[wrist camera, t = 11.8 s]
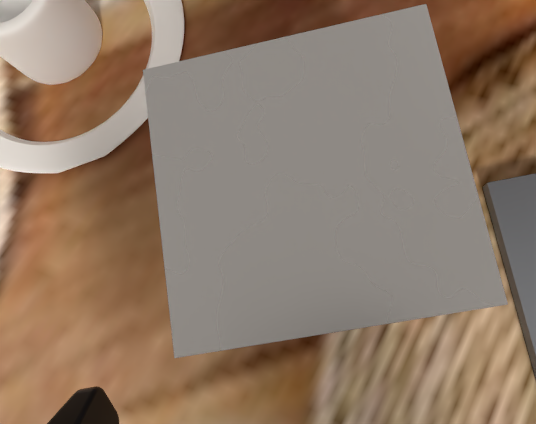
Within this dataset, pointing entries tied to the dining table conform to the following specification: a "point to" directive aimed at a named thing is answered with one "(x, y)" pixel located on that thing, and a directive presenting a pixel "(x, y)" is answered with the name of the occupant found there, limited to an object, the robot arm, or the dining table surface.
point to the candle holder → (75, 73)
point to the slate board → (517, 245)
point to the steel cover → (315, 187)
